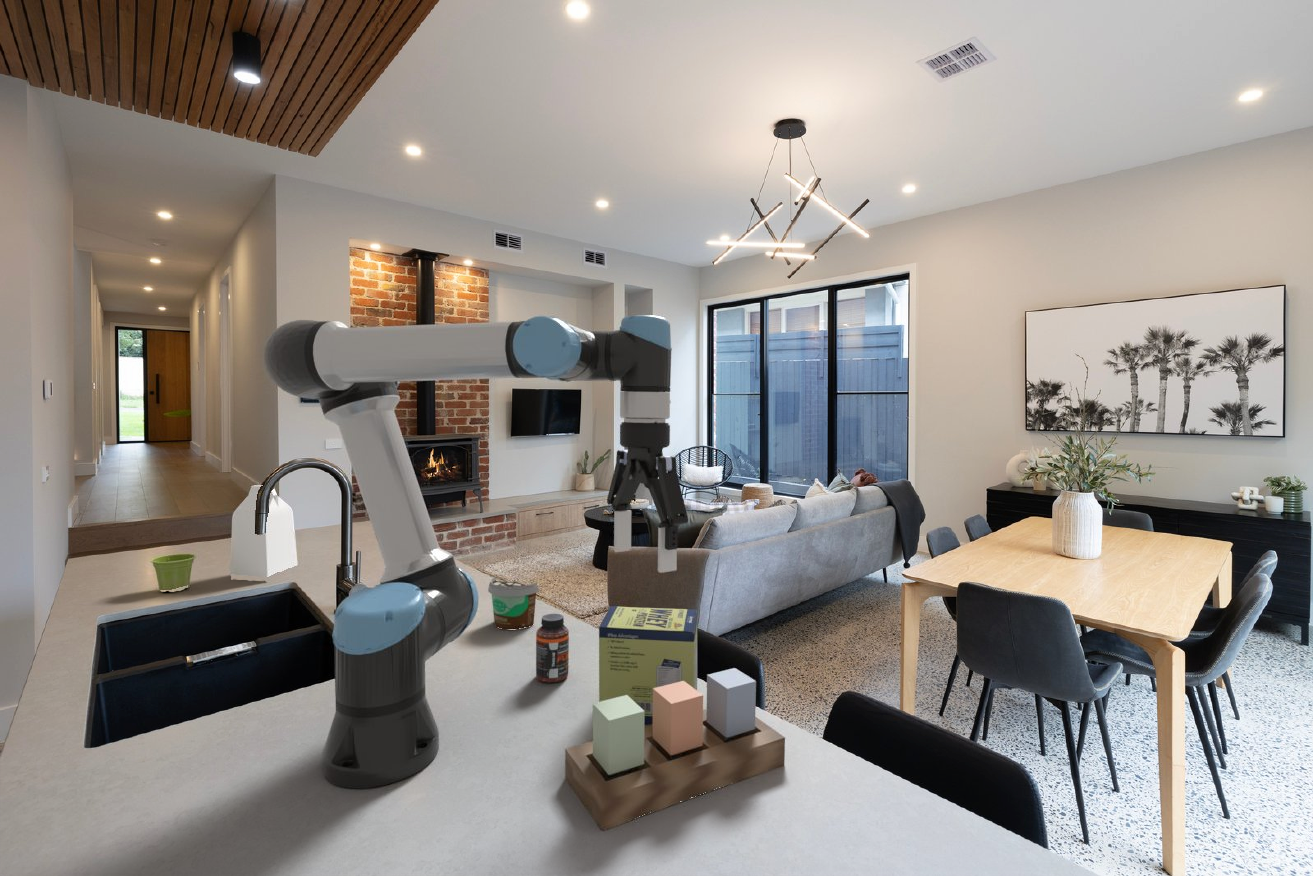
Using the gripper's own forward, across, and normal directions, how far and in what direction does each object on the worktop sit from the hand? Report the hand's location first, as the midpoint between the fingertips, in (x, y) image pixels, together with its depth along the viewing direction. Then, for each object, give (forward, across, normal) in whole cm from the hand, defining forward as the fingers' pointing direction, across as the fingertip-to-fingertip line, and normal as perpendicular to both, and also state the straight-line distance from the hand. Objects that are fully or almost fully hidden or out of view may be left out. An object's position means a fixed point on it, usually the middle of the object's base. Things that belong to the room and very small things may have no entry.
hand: (643, 560), depth 94 cm
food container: (+27, +53, +4) cm, 60 cm away
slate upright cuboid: (+22, -12, -8) cm, 27 cm away
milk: (+27, +128, +52) cm, 141 cm away
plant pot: (+27, +124, +72) cm, 146 cm away
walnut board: (+27, -12, +1) cm, 29 cm away
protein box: (+27, +5, -4) cm, 28 cm away
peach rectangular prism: (+22, -12, +1) cm, 25 cm away
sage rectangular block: (+22, -11, +10) cm, 27 cm away
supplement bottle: (+27, +24, +5) cm, 37 cm away
